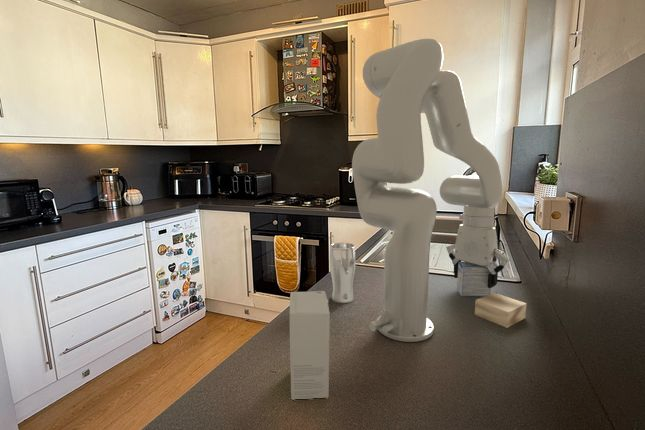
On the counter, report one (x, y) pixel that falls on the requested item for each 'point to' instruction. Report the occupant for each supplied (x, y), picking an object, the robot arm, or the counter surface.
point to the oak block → (500, 309)
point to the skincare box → (309, 344)
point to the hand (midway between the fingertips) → (474, 281)
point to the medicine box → (472, 280)
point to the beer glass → (342, 271)
